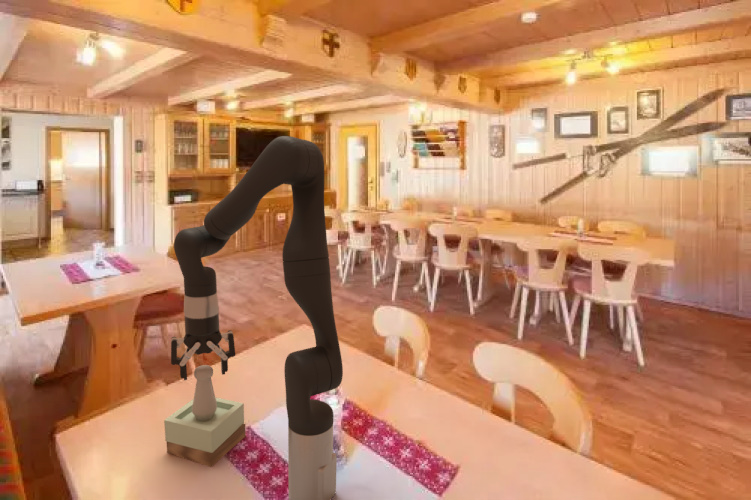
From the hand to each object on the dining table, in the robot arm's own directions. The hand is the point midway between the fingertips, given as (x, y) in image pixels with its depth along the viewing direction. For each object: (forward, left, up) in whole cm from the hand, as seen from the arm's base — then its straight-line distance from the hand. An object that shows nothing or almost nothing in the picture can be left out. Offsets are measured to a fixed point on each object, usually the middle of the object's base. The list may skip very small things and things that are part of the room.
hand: (204, 376), depth 111 cm
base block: (0, 0, -19) cm, 19 cm away
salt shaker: (0, 0, -11) cm, 11 cm away
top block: (0, 0, -15) cm, 15 cm away
